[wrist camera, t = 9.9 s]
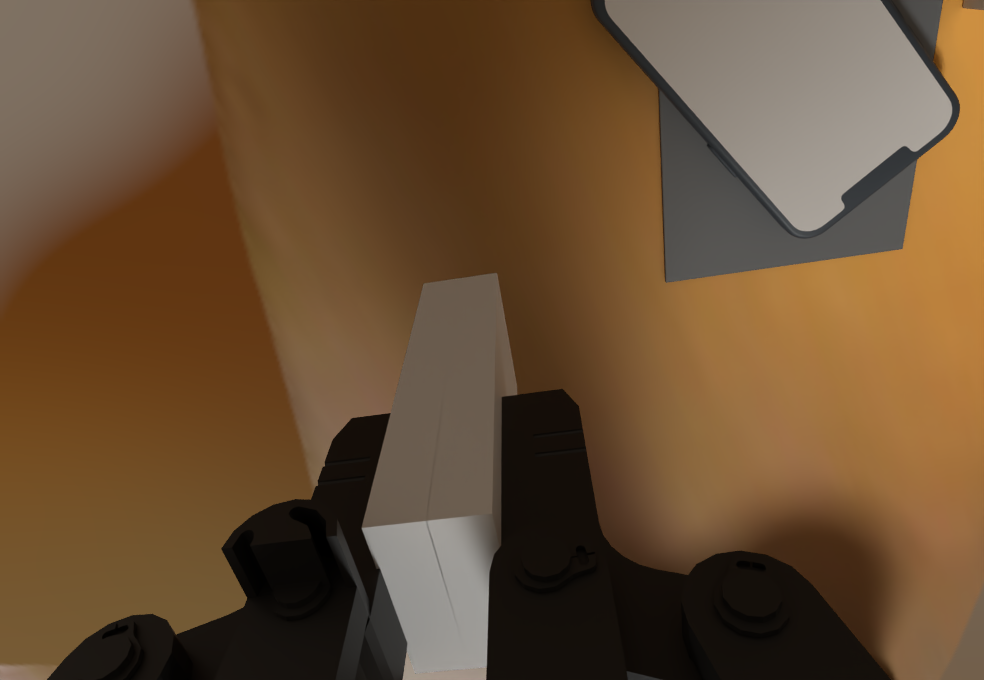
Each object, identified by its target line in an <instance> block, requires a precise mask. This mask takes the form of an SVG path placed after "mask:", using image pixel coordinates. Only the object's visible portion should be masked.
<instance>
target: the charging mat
mask: <svg viewBox="0 0 984 680" xmlns="http://www.w3.org/2000/svg"><path fill="white" fill-rule="evenodd" d="M892 1H893V2H894V4H895V5H896V7H897V8H898V9H899V11H900V12H901V14H902V15H903V17H904V20H905V22H906V23H907V25H909V26H910V27H911V28H912V30H913V31H914V33H915V34H916V36H917V37H918V39H919V40H920V41H921V43H922V44H923V46H924V49H925V51H926V52H927V54H928V55H929V57H930V58H931V59H932V61H933V58H934V52H935V46H936V40H937V34H938V28H939V21H940V15H941V9H942V3H943V0H892ZM659 111H660V140H661V169H662V197H663V226H664V254H665V281H666V283H667V282H674V281H681V280H688V279H695V278H702V277H709V276H716V275H723V274H730V273H737V272H744V271H751V270H758V269H765V268H772V267H779V266H786V265H793V264H800V263H807V262H814V261H821V260H828V259H835V258H842V257H849V256H856V255H863V254H870V253H877V252H884V251H891V250H899V249H902V248H903V242H904V236H905V230H906V224H907V217H908V211H909V205H910V199H911V193H912V187H913V181H914V175H915V168H916V162H917V160H915V161H914V162H913V163H912V164H910V165H909V166H908V167H907V168H905V169H904V170H903V171H902V172H900V173H899V174H898V175H896V176H895V177H894V178H893V179H891V180H890V181H889V182H888V183H886V184H885V185H884V186H882V187H881V188H880V189H879V190H877V191H876V192H875V193H874V194H872V195H871V196H870V197H869V198H867V199H866V200H865V201H863V202H862V203H861V204H860V205H858V206H857V207H856V208H855V209H853V210H852V211H851V212H850V213H848V214H847V215H846V216H844V217H843V218H842V219H841V220H839V221H838V222H837V223H836V224H834V225H833V226H832V227H830V228H829V229H828V230H827V231H825V232H824V233H822V234H821V235H818V236H816V237H813V238H807V239H802V238H797V237H794V236H792V235H790V234H789V233H788V232H787V231H786V230H784V229H783V228H782V227H781V226H780V225H779V224H778V222H777V221H776V220H775V219H774V218H773V217H772V216H771V215H770V213H769V212H768V211H767V210H766V209H765V208H764V207H763V206H762V204H761V203H760V202H759V201H758V200H757V199H756V198H755V197H754V195H753V194H752V193H751V192H750V191H749V190H748V189H747V188H746V186H745V185H744V184H743V183H742V182H741V181H740V180H739V179H738V177H734V176H733V175H732V174H731V173H730V172H729V171H728V170H727V169H726V168H725V166H724V165H723V164H722V163H721V162H720V161H719V160H718V159H717V157H716V156H715V155H714V154H713V153H712V152H711V151H710V150H709V148H708V147H707V142H706V141H705V140H704V139H703V138H702V137H701V136H700V135H699V133H698V132H697V131H696V130H695V129H694V128H693V127H692V126H691V124H690V123H689V122H688V121H687V120H686V119H685V118H684V117H683V115H682V114H681V113H680V112H679V111H678V110H677V109H676V108H675V106H674V105H673V104H672V103H671V102H670V101H669V100H668V99H667V97H666V96H665V95H664V94H663V93H662V92H661V91H660V89H659Z"/></svg>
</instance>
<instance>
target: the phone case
mask: <svg viewBox="0 0 984 680" xmlns="http://www.w3.org/2000/svg"><path fill="white" fill-rule="evenodd" d="M591 6H592V10H593V12H594V15H595V16H596V18H597V19H598V21H599V22H600V23H601V24H602V25H603V26H604V27H605V29H606V30H607V31H608V32H609V33H610V34H611V35H612V37H613V38H614V39H615V40H616V41H617V42H618V43H619V44H620V46H621V47H622V48H623V49H624V50H625V51H626V52H627V53H628V55H629V56H630V57H631V58H632V59H633V60H634V61H635V62H636V64H637V65H638V66H639V67H640V68H641V69H642V70H643V71H644V73H645V74H646V75H647V76H648V77H649V78H650V79H651V80H652V82H653V83H654V84H655V85H656V86H657V87H658V88H659V89H660V91H661V92H662V93H663V94H664V95H665V96H666V97H667V99H668V100H669V101H670V102H671V103H672V104H673V105H674V106H675V108H676V109H677V110H678V111H679V112H680V113H681V114H682V115H683V117H684V118H685V119H686V120H687V121H688V122H689V123H690V124H691V126H692V127H693V128H694V129H695V130H696V131H697V132H698V133H699V135H700V136H701V137H702V138H703V139H704V140H705V141H706V142H707V147H708V148H709V150H710V151H711V152H712V153H713V154H714V155H715V156H716V157H717V159H718V160H719V161H720V162H721V163H722V164H723V165H724V166H725V168H726V169H727V170H728V171H729V172H730V173H731V174H732V175H733V176H734V177H738V179H739V180H740V181H741V182H742V183H743V184H744V185H745V186H746V188H747V189H748V190H749V191H750V192H751V193H752V194H753V195H754V197H755V198H756V199H757V200H758V201H759V202H760V203H761V204H762V206H763V207H764V208H765V209H766V210H767V211H768V212H769V213H770V215H771V216H772V217H773V218H774V219H775V220H776V221H777V222H778V224H779V225H780V226H781V227H782V228H783V229H784V230H786V231H787V232H788V233H789V234H790V235H792V236H794V237H797V238H802V239H807V238H813V237H816V236H818V235H821V234H822V233H824V232H825V231H827V230H828V229H829V228H830V227H832V226H833V225H834V224H836V223H837V222H838V221H839V220H841V219H842V218H843V217H844V216H846V215H847V214H848V213H850V212H851V211H852V210H853V209H855V208H856V207H857V206H858V205H860V204H861V203H862V202H863V201H865V200H866V199H867V198H869V197H870V196H871V195H872V194H874V193H875V192H876V191H877V190H879V189H880V188H881V187H882V186H884V185H885V184H886V183H888V182H889V181H890V180H891V179H893V178H894V177H895V176H896V175H898V174H899V173H900V172H902V171H903V170H904V169H905V168H907V167H908V166H909V165H910V164H912V163H913V162H914V161H915V160H917V159H918V158H919V157H921V156H922V155H923V154H924V153H926V152H927V151H928V150H929V149H931V148H932V147H933V146H934V145H936V144H937V143H938V142H940V141H941V140H942V139H943V138H944V137H946V136H947V135H948V134H949V133H950V131H951V130H952V129H953V127H954V126H955V124H956V122H957V119H958V117H959V112H960V104H959V100H958V98H957V96H956V94H955V93H954V91H953V90H952V88H951V87H950V86H949V84H948V83H947V81H946V80H945V78H944V77H943V75H942V74H941V72H940V71H939V70H938V68H937V67H936V65H935V64H934V62H933V61H932V59H931V58H930V57H929V55H928V54H927V52H926V51H925V49H924V46H923V44H922V43H921V41H920V40H919V39H918V37H917V36H916V34H915V33H914V31H913V30H912V28H911V27H910V26H909V25H907V23H906V22H905V20H904V17H903V15H902V14H901V12H900V11H899V9H898V8H897V7H896V5H895V4H894V2H893V1H892V0H591Z"/></svg>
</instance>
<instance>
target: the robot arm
mask: <svg viewBox="0 0 984 680" xmlns="http://www.w3.org/2000/svg"><path fill="white" fill-rule="evenodd" d="M222 551H223V553H224V555H225V557H226V559H227V560H228V562H229V564H230V566H231V568H232V570H233V572H234V574H235V575H236V578H237V579H238V581H239V583H240V585H241V587H242V589H243V591H244V593H245V594H246V596H247V601H246V603H245V606H244V607H243V608H241V609H239V610H237V611H235V612H233V613H231V614H229V615H227V616H224V617H221V618H219V619H216V620H213V621H211V622H208V623H206V624H203V625H200V626H198V627H195V628H193V629H190V630H187V631H184V632H182V633H179V634H177V635H176V634H175V632H174V631H173V629H172V628H171V626H170V625H169V623H168V621H167V620H165V619H163V618H160V617H158V616H156V615H153V614H146V615H133V616H130V617H127V618H124V619H121V620H119V621H116V622H113V623H111V624H108V625H107V626H105V627H104V628H102V629H100V630H99V631H98V632H96V633H94V634H93V635H91V636H90V637H88V638H86V639H85V640H84V641H83V642H82V643H81V644H80V645H79V646H78V647H77V648H76V649H75V650H74V651H73V652H71V653H70V655H68V656H67V657H66V658H65V659H64V660H63V662H62V663H61V664H60V665H59V666H58V667H57V669H56V670H55V671H54V672H53V673H52V674H51V676H50V677H49V678H48V679H47V680H402V679H403V672H404V665H405V658H406V651H407V653H408V655H409V658H410V661H411V663H412V666H413V669H414V672H415V674H416V673H427V672H438V671H450V670H461V669H472V668H484V667H487V675H486V680H891V679H890V678H889V677H888V676H887V674H886V673H885V672H884V671H883V670H882V668H881V667H880V666H879V665H878V664H877V662H876V661H875V660H874V659H873V658H872V656H871V655H870V654H869V653H868V652H867V650H866V649H865V648H864V647H863V646H862V644H861V643H860V642H859V641H858V639H857V638H856V637H855V636H854V635H853V633H852V632H851V631H850V630H849V629H848V627H847V626H846V625H845V624H844V623H843V621H842V620H841V619H840V618H839V617H838V615H837V614H836V613H835V612H834V611H833V609H832V608H831V607H830V606H829V605H828V603H827V602H826V601H825V600H824V598H823V597H822V596H821V595H820V594H819V592H818V591H817V590H816V589H815V588H814V586H813V585H812V584H811V583H810V582H809V581H807V580H806V579H805V578H804V577H803V576H802V575H801V574H799V573H798V572H797V571H796V570H795V569H794V568H793V567H791V566H789V565H787V564H785V563H783V562H781V561H779V560H776V559H774V558H772V557H770V556H768V555H764V554H758V553H751V552H745V551H734V552H727V553H720V554H715V555H713V556H711V557H709V558H707V559H706V560H704V561H702V562H700V563H698V564H696V566H695V567H694V568H693V570H692V571H691V572H690V574H689V575H684V574H678V573H673V572H667V571H661V570H656V569H653V568H649V567H646V566H642V565H639V564H637V563H635V562H633V561H631V560H629V559H627V558H625V557H623V556H622V555H621V554H620V553H619V552H617V551H616V550H615V549H614V548H613V547H611V545H610V544H609V542H608V541H607V540H606V538H605V537H604V536H603V533H602V530H601V528H600V525H599V521H598V515H597V509H596V504H595V498H594V492H593V486H592V481H591V475H590V469H589V463H588V457H587V452H586V446H585V440H584V434H583V429H582V423H581V417H580V411H579V406H578V405H577V404H576V403H575V402H574V401H573V400H572V399H571V398H570V397H569V395H568V394H567V393H566V392H565V391H564V390H563V389H559V390H551V391H543V392H535V393H528V394H520V395H517V383H516V377H515V372H514V366H513V360H512V355H511V349H510V343H509V338H508V332H507V326H506V321H505V315H504V309H503V304H502V298H501V293H500V287H499V281H498V276H497V273H492V274H485V275H478V276H472V277H465V278H458V279H451V280H444V281H438V282H431V283H424V284H423V288H422V292H421V296H420V300H419V304H418V308H417V312H416V316H415V320H414V324H413V328H412V331H411V335H410V339H409V343H408V347H407V351H406V355H405V359H404V363H403V367H402V371H401V375H400V379H399V383H398V387H397V390H396V394H395V398H394V402H393V406H392V410H391V413H388V414H381V415H373V416H365V417H357V418H352V419H351V420H350V421H349V422H348V423H347V424H346V425H345V427H344V428H343V429H342V430H341V431H340V432H339V433H338V434H337V435H336V436H335V438H334V439H333V441H332V443H331V446H330V449H329V452H328V454H327V457H326V460H325V467H323V468H322V471H321V474H320V476H319V479H318V486H316V487H315V490H314V493H313V496H312V498H311V500H301V499H300V500H299V499H295V500H291V501H287V502H283V503H279V504H275V505H272V506H270V507H268V508H266V509H264V510H263V511H260V512H258V513H257V514H255V515H253V516H251V517H250V518H249V519H248V520H247V521H245V522H244V523H243V524H242V525H240V526H239V527H238V528H237V529H236V530H234V531H233V533H232V534H231V536H230V537H229V539H228V540H227V541H226V543H225V544H224V546H223V547H222Z"/></svg>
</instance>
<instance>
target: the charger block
mask: <svg viewBox="0 0 984 680" xmlns="http://www.w3.org/2000/svg"><path fill="white" fill-rule="evenodd" d="M963 8H967V9H978V10H984V0H964V3H963Z"/></svg>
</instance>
